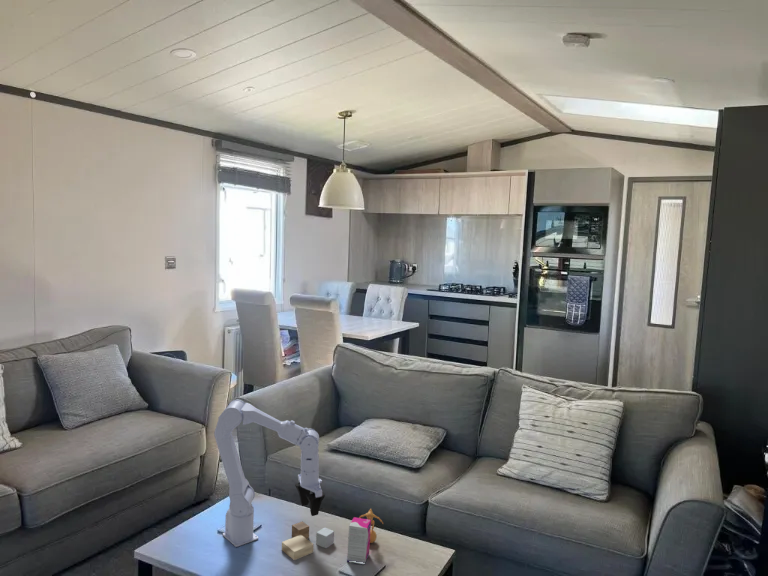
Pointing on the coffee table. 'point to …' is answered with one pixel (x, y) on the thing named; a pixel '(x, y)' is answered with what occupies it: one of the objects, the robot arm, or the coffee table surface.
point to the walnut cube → (300, 530)
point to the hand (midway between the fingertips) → (309, 509)
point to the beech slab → (297, 547)
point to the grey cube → (325, 537)
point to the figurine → (370, 517)
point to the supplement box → (359, 540)
